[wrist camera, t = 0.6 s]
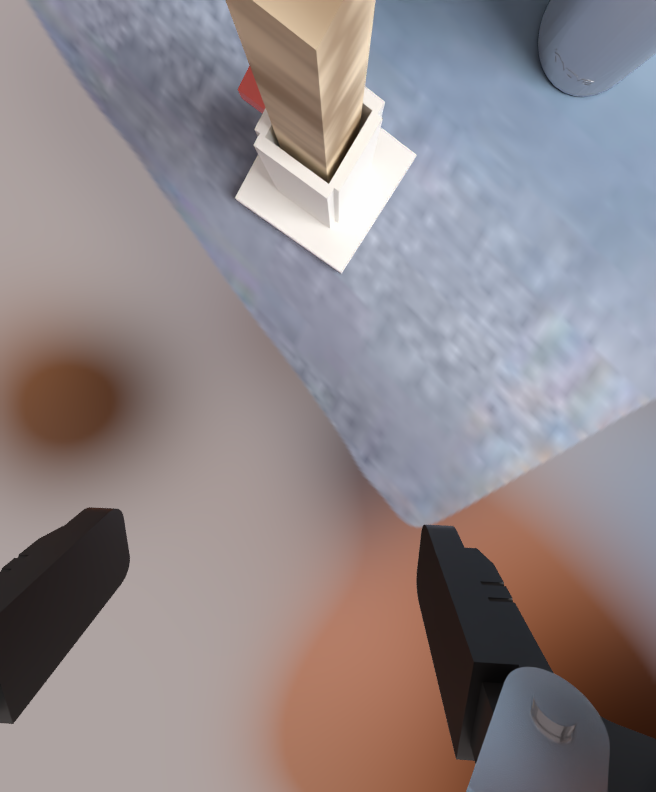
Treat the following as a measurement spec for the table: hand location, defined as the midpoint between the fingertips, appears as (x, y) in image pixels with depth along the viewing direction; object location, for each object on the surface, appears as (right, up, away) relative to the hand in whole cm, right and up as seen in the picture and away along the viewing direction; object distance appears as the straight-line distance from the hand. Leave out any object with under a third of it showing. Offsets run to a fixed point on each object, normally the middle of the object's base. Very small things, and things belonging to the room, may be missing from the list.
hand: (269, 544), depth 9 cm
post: (+1, +24, +23) cm, 33 cm away
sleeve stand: (+1, +24, +24) cm, 35 cm away
